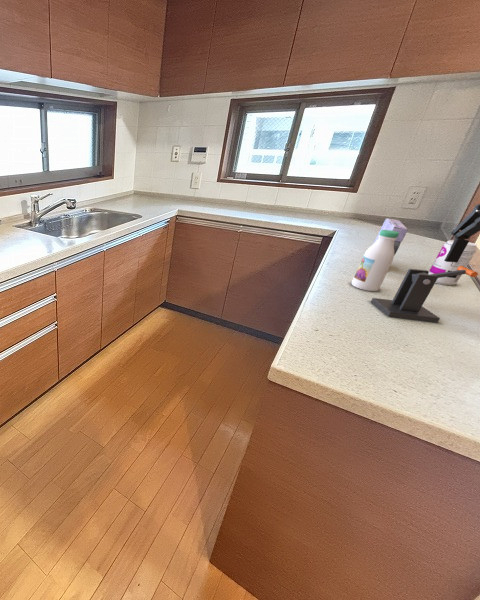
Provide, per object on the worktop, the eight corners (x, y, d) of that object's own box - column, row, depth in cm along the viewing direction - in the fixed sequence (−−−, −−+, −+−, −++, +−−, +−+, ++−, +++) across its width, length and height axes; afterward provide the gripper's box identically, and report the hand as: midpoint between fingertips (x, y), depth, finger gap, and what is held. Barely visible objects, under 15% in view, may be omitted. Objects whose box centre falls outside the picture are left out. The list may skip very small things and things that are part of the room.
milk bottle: (377, 286, 115) (403, 230, 106) (379, 293, 109) (408, 235, 100) (350, 281, 119) (373, 227, 110) (351, 287, 113) (376, 231, 104)
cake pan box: (388, 272, 128) (409, 228, 120) (372, 269, 131) (392, 226, 123) (380, 259, 143) (399, 219, 135) (366, 257, 145) (383, 217, 137)
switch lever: (463, 271, 92) (464, 263, 91) (477, 278, 87) (478, 269, 86) (408, 279, 96) (408, 272, 95) (419, 286, 92) (419, 278, 91)
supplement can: (424, 280, 121) (445, 241, 114) (426, 275, 126) (446, 238, 119) (454, 287, 116) (479, 247, 109) (455, 282, 121) (479, 243, 114)
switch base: (415, 307, 101) (436, 268, 95) (437, 322, 92) (462, 281, 86) (370, 301, 103) (388, 264, 98) (388, 316, 95) (409, 276, 89)
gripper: (458, 182, 91) (422, 254, 101) (546, 194, 70) (489, 285, 79) (491, 183, 89) (452, 257, 99) (592, 196, 68) (529, 288, 77)
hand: (468, 269), depth 89 cm, fingers open, 13 cm apart
